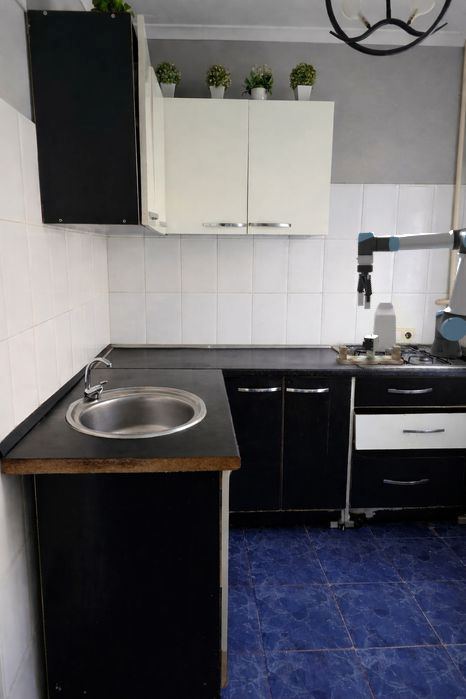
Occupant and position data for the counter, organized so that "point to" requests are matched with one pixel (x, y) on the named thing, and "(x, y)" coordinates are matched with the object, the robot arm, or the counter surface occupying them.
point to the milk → (385, 326)
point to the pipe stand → (363, 360)
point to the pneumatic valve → (370, 345)
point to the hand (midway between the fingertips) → (363, 307)
